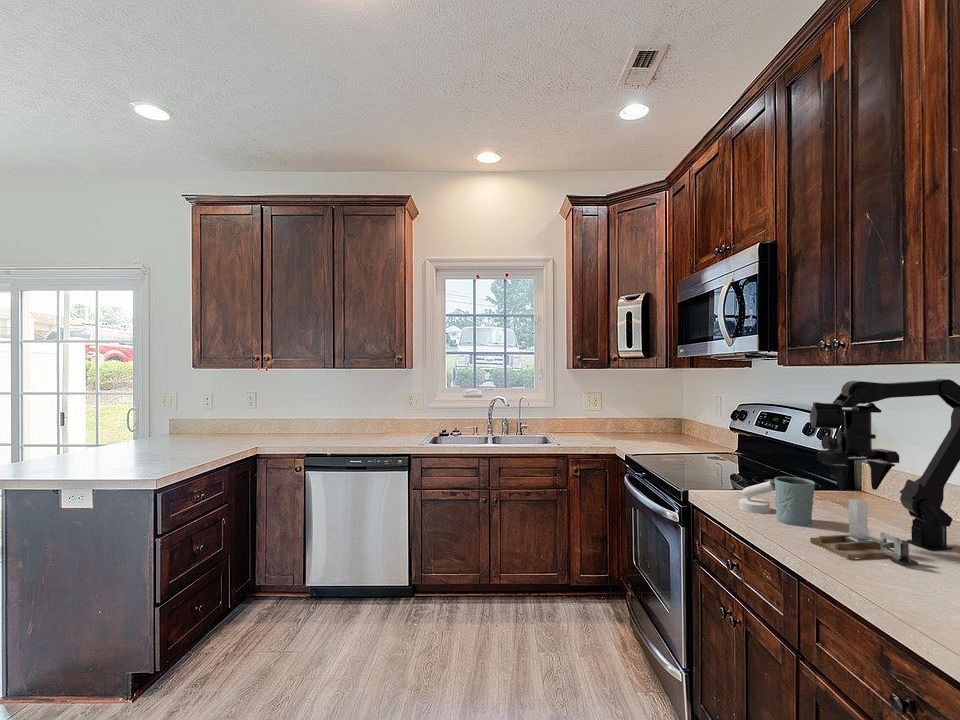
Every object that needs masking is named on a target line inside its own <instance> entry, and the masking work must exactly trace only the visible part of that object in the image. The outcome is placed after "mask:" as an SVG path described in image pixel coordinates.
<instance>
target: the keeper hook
mask: <svg viewBox="0 0 960 720" xmlns="http://www.w3.org/2000/svg"><path fill="white" fill-rule="evenodd" d="M909 544H910V543H909V542H908V541H907V540H905V539H900V548H901V558H899V559H897V558H895V557H890V558H889V561H892V562H894V563H896V562H897V564H900V565H901V566H904V567H905V566H918V565H919V562H918V561H916V560H913V559H912V558H910V556H909V554H910V549H909V548H910V546H909ZM882 546H883V547H884V548H889V549H894V541H892V542H887V543H883V544H882Z"/></svg>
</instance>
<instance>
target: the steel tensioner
mask: <svg viewBox="0 0 960 720" xmlns="http://www.w3.org/2000/svg"><path fill="white" fill-rule="evenodd" d="M848 535H849V537H845V541H846V542H867V541H874V542H877V543H879V544H880V547H881V552H882V553H885V554H887V555H890V556H892V557H895V558H897V559H899V558H901V548H900V540H901V538H900V537H896V536H894V535H890V534H888V533H886V532H880V538H878V537H876V536H873V535H870V534H869V533H868V501H867V500H863V499H861V498H849V499H848ZM868 539H869V540H868ZM887 540H889V541H892V542H894V548H893V550H894V552H892V551H890V550H887V548H884V547H883V546H882V544H883V543H888V541H887Z"/></svg>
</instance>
